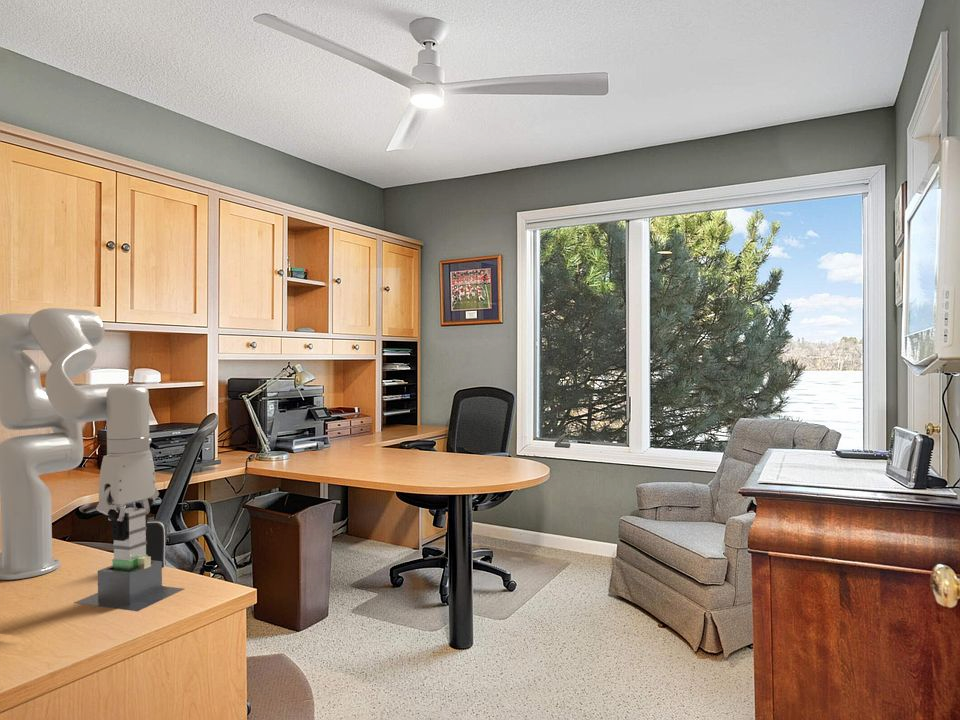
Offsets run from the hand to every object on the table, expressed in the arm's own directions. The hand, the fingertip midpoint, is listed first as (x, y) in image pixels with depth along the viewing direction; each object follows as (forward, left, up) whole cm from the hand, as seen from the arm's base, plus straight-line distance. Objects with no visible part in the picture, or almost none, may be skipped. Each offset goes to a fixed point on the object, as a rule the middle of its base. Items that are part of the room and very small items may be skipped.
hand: (129, 535), depth 126 cm
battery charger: (-11, +16, -13) cm, 24 cm away
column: (0, 0, -8) cm, 8 cm away
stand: (0, 0, -13) cm, 13 cm away
